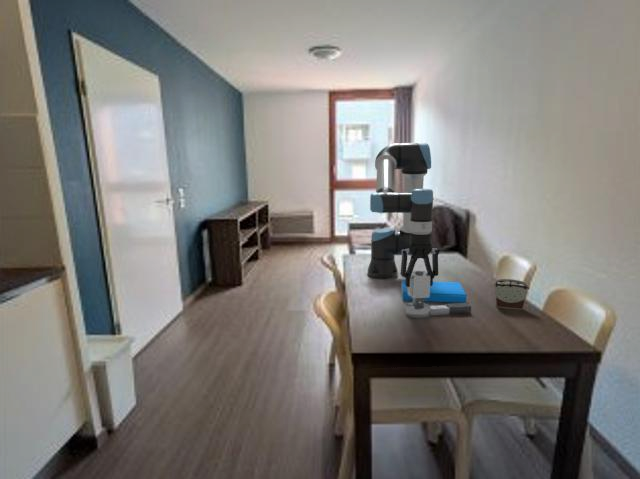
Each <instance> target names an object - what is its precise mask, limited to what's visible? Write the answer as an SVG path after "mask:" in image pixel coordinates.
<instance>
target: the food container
mask: <svg viewBox="0 0 640 479" xmlns="http://www.w3.org/2000/svg"><path fill="white" fill-rule="evenodd" d="M493 288H494V289H495V307H496V308H502V309H511V310H521V309H522V310H523V311H524V307H525V304H526V298H527V293H528V290H529V291H530V286H529V284H528V283H527V282H525V281H522V280H518V279H511V278H510V279H508V278H501V279H500V278H499V279H496V280H495V281H494V283H493Z"/></svg>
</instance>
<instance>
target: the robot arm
mask: <svg viewBox="0 0 640 479" xmlns="http://www.w3.org/2000/svg"><path fill="white" fill-rule="evenodd" d="M431 154H432V153H431V148H430V145H429V144H428V142H427V143H426V142H403V143H401V142H400V143H396V142H394V143H392V144H388V145H386V146H384V148H382V149H381V150H380V151H379V152H378V154H377V155H376V157H375V160H374V167H375V170H376V181H375V182H376V185H375V186H376V187H375V192H373V193H371V194H370V197H369V198H370V200H369V202H370V204H369V207H370V208H369V209H370V212H372V213H379V214H383V213H385V214H386V213H387V214H390V213H392V214H394V213H396V214H397V213H401V214H403V220H402V223H403V224H402V225H401V226H400V227H399V231H396V229H395V227H394V228H393V227H391V228H390V227H387V228H381V229H376V230H374V231H372V233H371V239H370V242H371V245H370V246H371V248H370V249H371V250H370V262H369V265H368V268H367V276H368V277H370V278H373V279H383V280H384V279H387V280H388V279H394V278H396V277H398V275H399V270H398V268H397V264H396V260H395V257H396V256H401V264H400V276H401V277H403V278H404V280H405V285H406V286H407V287H408V295H409V296H412V278H411V274H412V272H414V268H415V266H416V262H417V261H418V259H422V260H423V262H424V267H425V270H426V273H427V274H429V275H430V286H432V285H433V282H434V281H433V280H434V278H435V277H438V276H439V255H440V250H439V248H436V247H433V246H432V231H433V230H432V229H433V206H434V205H433V204H434V191H433V189H430V188H424V180H425V179H424V178H425V176H426V175H427V174H428V170H430V169H431V168H432V155H431ZM395 170H401V174H402V175H403V177H404V187H403V188H404V190H403V192H396V187H395V186H396V185H395V184H396V183H395V182H396V181H395V180H396V179H395V178H396V177H395ZM430 253H431V259H432V262H430V257H429V255H430ZM408 256H410V260H409V263H408ZM431 263H432V265H431ZM407 265H408V267H407ZM429 295H430V292H429Z"/></svg>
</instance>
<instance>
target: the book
mask: <svg viewBox="0 0 640 479" xmlns="http://www.w3.org/2000/svg"><path fill="white" fill-rule="evenodd" d="M401 297H402V301H411V302H413V298H412V297H411V296H409V295H408V287H407V286H406V285H405V279H403V280H401ZM424 302H433V303H434V302H439V303H467V293H466V291H464V288H463V286H462V285H461V283H460V282H455V281H452V282H451V281H433V285H432V286H430V295H429V298H424Z"/></svg>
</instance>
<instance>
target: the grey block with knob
mask: <svg viewBox="0 0 640 479" xmlns="http://www.w3.org/2000/svg"><path fill="white" fill-rule="evenodd" d="M411 278H412V296H411V297H412V298H429V292H430V275H429V274H428V273H427V271H424V270H414V271H412V274H411Z"/></svg>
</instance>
